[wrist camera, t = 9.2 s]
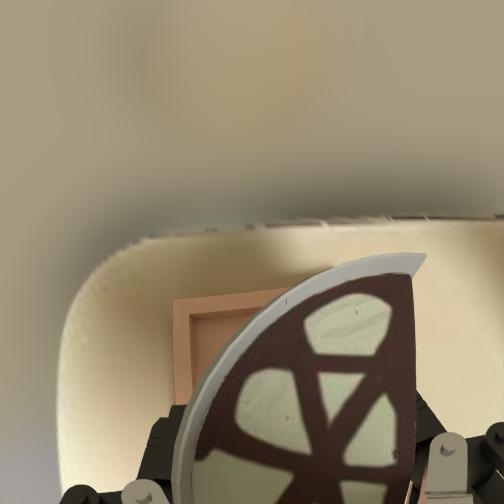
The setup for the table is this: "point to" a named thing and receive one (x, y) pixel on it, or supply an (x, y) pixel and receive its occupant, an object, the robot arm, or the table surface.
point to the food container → (310, 396)
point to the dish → (208, 332)
